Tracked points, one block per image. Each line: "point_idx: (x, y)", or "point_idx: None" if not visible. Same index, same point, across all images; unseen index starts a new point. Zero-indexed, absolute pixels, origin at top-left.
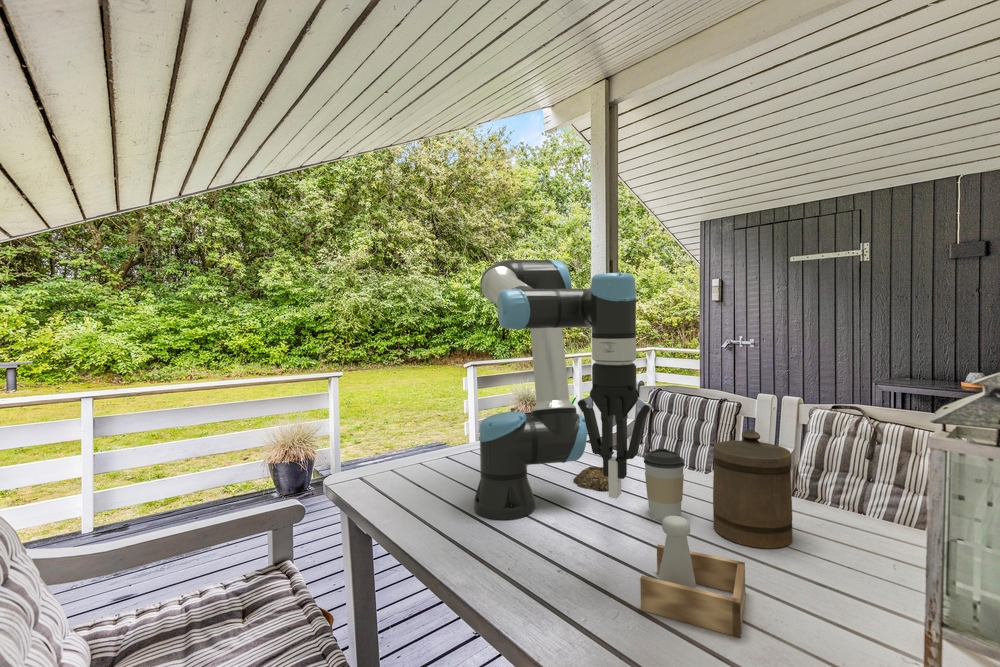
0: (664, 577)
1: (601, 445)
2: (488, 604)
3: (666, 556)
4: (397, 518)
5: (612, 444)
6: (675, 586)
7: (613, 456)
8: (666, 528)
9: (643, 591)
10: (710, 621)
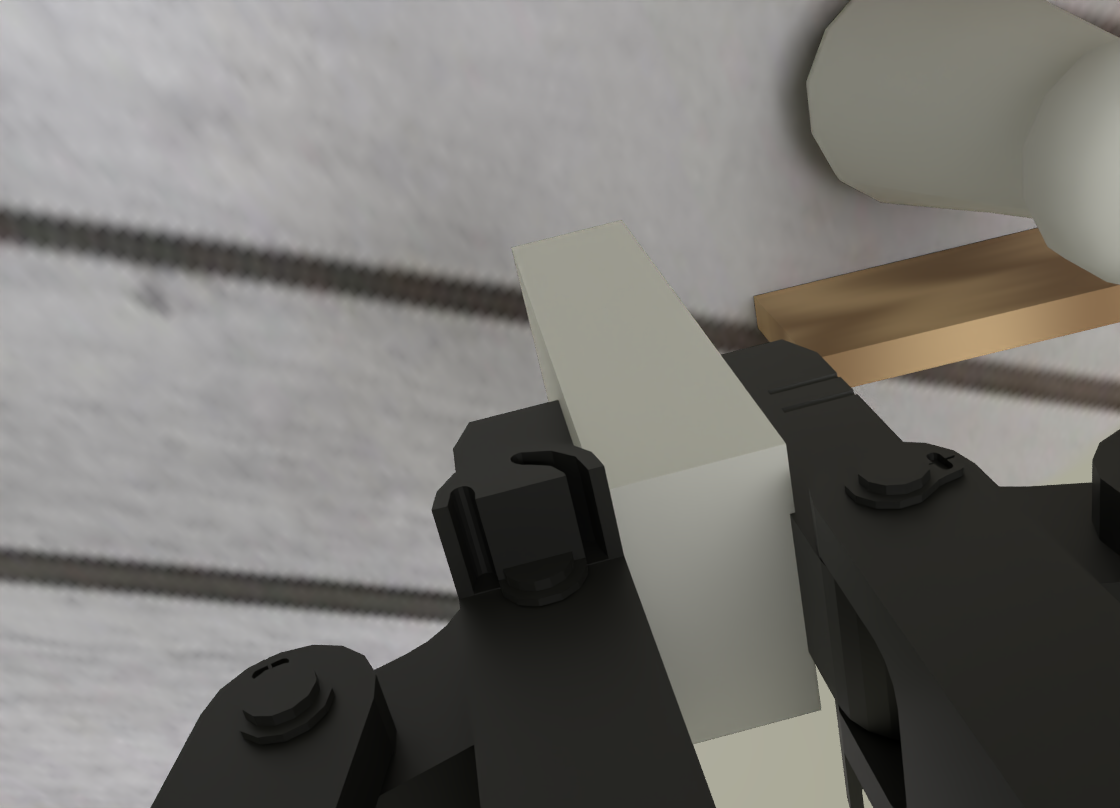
0: (895, 197)
1: (375, 799)
2: (141, 769)
3: (966, 204)
4: None
5: (679, 717)
6: (1019, 341)
7: (618, 498)
8: (1099, 277)
9: None
10: None
